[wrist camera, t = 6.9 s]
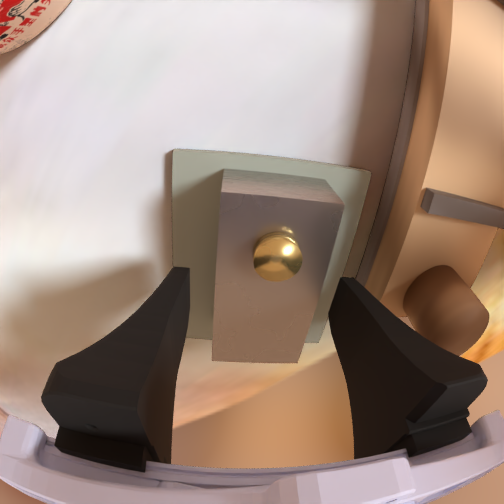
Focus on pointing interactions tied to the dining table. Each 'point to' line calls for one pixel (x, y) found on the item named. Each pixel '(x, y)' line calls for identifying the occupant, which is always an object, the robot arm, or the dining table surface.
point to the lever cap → (270, 263)
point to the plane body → (443, 175)
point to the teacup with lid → (26, 20)
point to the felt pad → (207, 222)
